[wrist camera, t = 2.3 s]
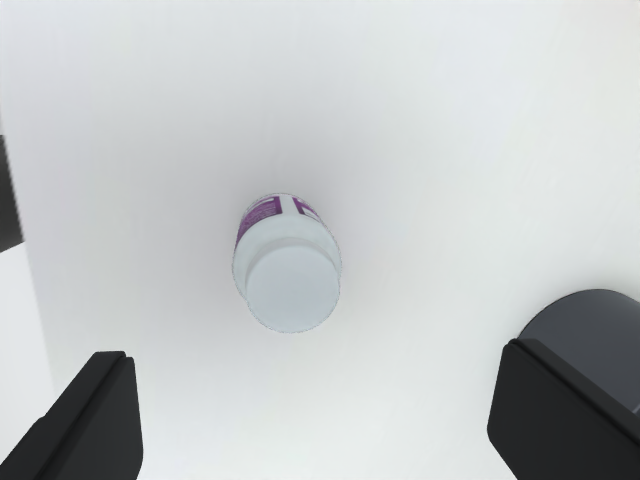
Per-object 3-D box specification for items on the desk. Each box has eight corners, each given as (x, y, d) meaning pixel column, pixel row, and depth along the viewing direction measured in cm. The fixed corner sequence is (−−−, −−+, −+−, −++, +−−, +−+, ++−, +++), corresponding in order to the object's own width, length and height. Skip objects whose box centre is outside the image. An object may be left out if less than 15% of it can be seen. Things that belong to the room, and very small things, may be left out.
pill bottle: (242, 272, 25) (230, 354, 16) (236, 193, 23) (219, 233, 14) (322, 267, 26) (355, 343, 16) (320, 190, 24) (357, 226, 15)
